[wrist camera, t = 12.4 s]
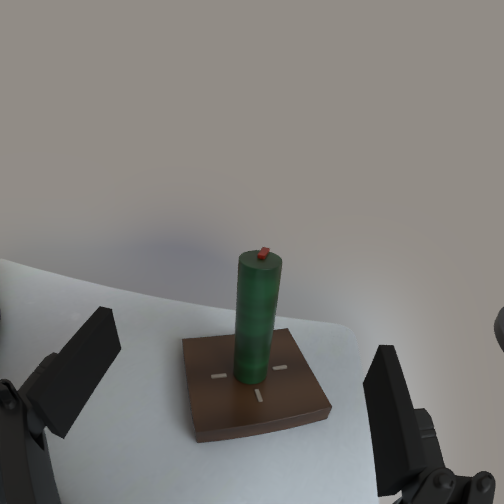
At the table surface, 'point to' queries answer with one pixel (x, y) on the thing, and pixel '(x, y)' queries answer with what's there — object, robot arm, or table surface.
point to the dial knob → (255, 313)
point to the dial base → (250, 390)
